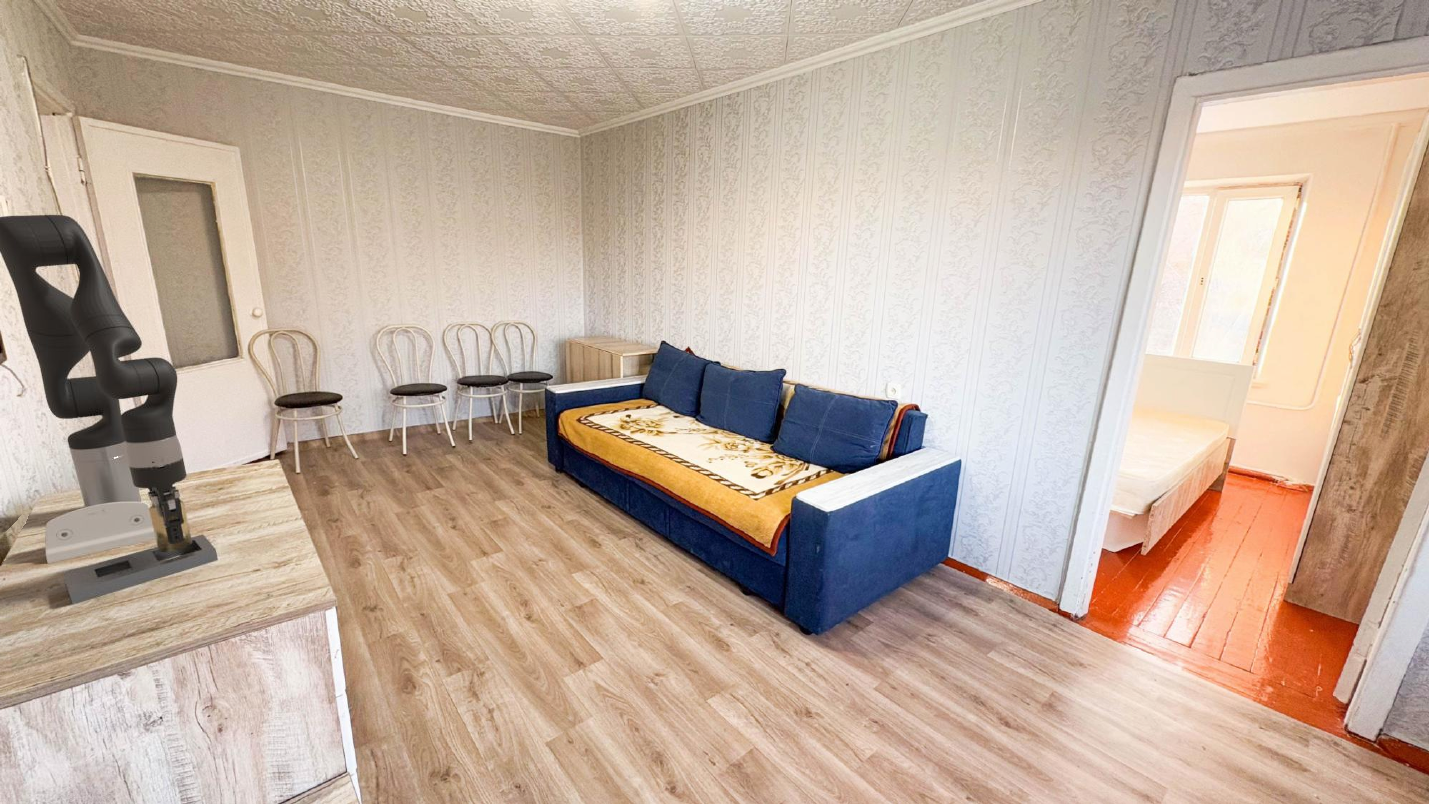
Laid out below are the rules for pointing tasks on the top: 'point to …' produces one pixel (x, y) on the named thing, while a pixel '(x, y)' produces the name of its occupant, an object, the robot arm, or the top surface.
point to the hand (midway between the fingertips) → (173, 537)
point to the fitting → (162, 535)
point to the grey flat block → (135, 569)
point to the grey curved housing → (98, 529)
